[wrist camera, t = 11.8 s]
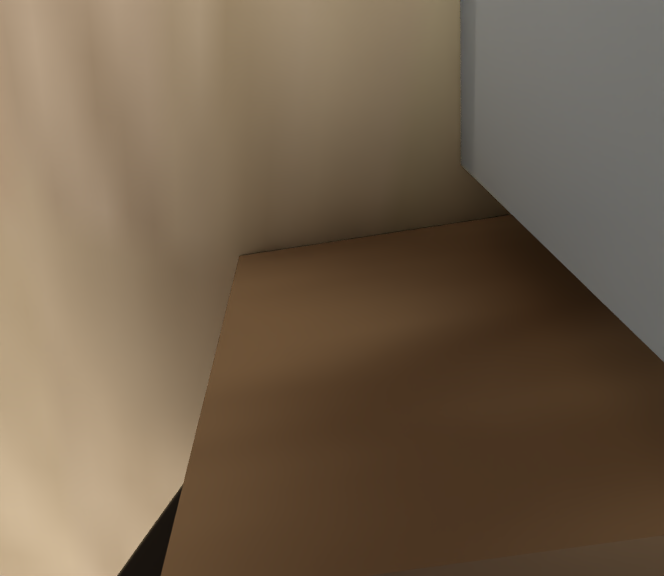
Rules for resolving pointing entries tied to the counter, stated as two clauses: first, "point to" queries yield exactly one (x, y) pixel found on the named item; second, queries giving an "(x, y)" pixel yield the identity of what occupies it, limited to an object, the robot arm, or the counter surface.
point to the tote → (575, 137)
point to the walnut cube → (423, 417)
